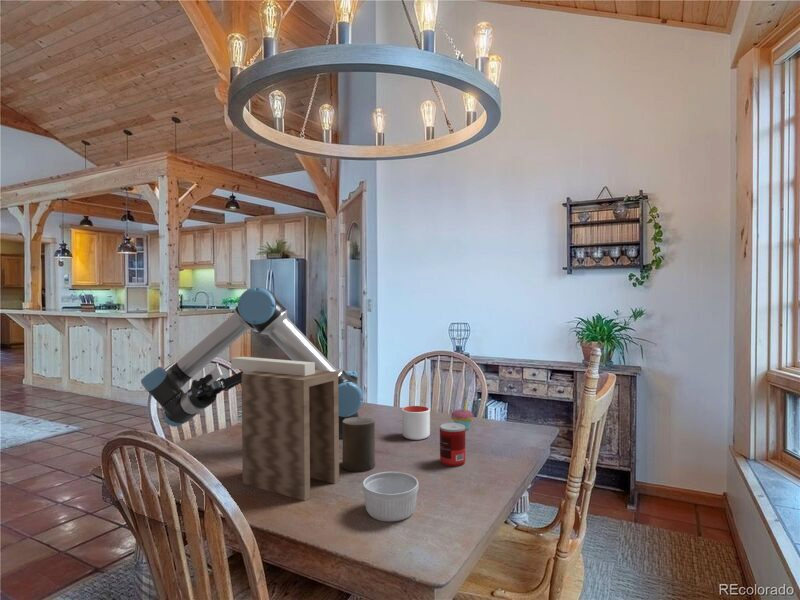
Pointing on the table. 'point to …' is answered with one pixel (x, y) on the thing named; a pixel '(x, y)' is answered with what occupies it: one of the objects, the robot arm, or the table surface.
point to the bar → (273, 365)
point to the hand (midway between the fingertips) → (239, 367)
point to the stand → (290, 431)
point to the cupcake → (462, 416)
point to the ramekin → (390, 495)
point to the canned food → (452, 444)
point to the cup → (416, 422)
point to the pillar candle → (358, 444)
